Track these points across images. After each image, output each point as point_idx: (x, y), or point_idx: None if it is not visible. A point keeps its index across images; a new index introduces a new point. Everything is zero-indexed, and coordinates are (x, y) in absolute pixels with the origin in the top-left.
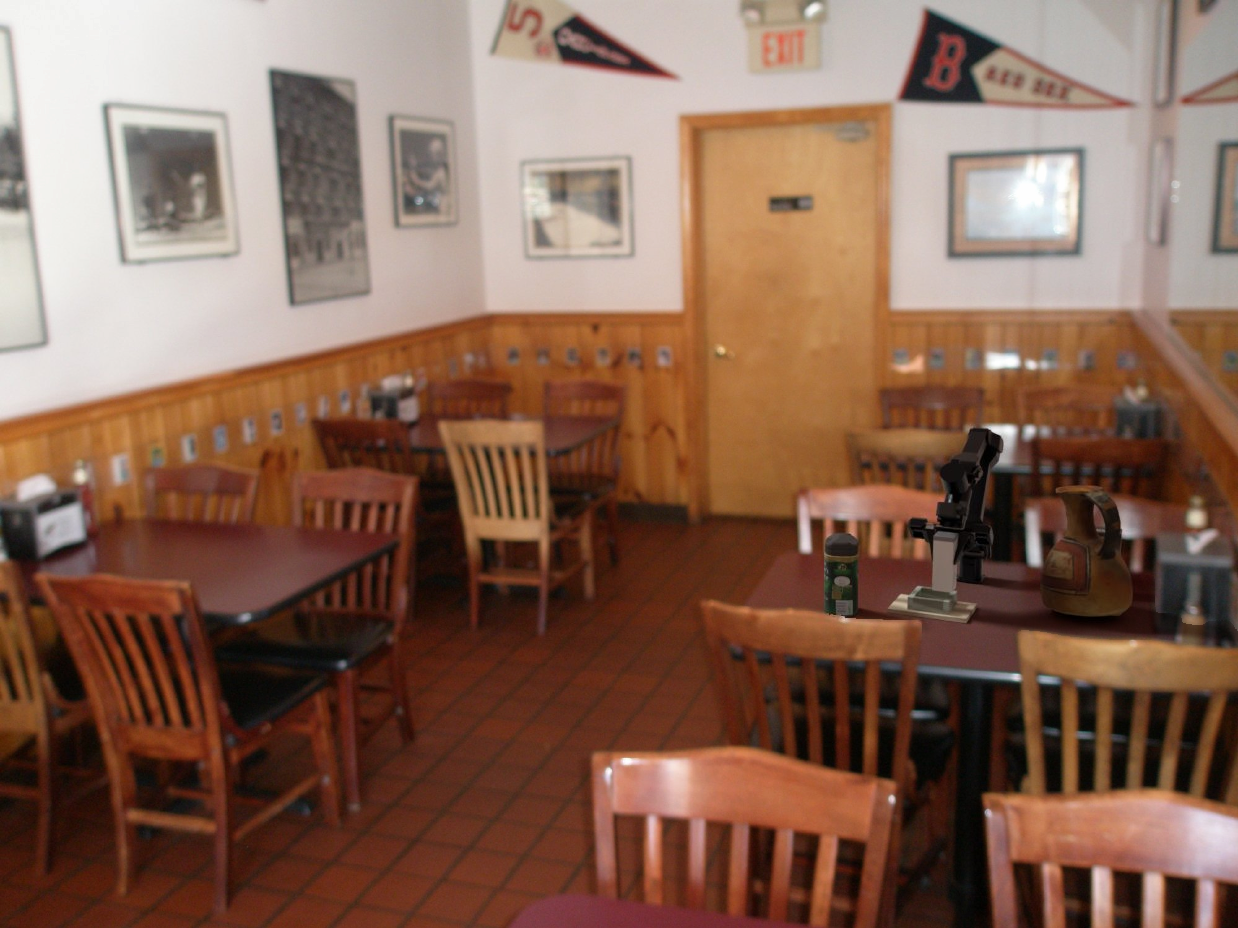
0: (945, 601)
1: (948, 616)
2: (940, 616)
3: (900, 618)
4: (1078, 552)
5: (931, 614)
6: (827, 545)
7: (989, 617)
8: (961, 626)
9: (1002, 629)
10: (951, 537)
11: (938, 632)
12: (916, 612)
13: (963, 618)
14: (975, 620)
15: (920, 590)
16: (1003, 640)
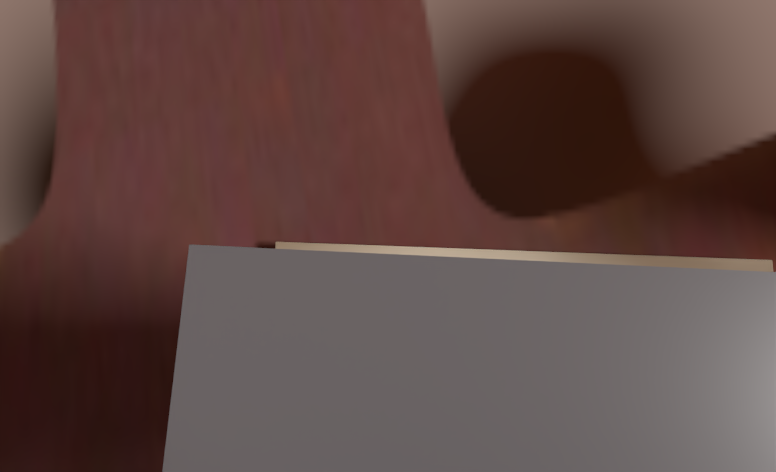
0: None
1: (382, 249)
2: (430, 247)
3: (649, 190)
4: None
5: (486, 250)
6: None
7: (163, 407)
8: (298, 185)
9: (81, 220)
10: (321, 334)
11: (398, 48)
12: (581, 253)
13: (292, 248)
14: None
15: None
16: (71, 56)
